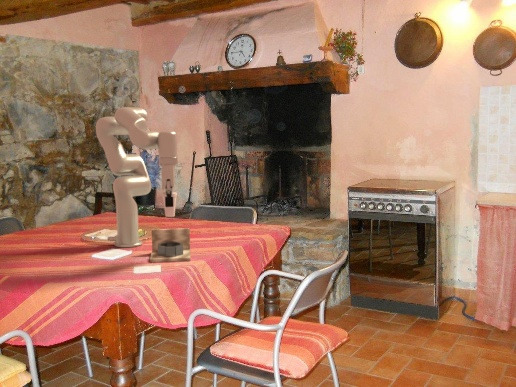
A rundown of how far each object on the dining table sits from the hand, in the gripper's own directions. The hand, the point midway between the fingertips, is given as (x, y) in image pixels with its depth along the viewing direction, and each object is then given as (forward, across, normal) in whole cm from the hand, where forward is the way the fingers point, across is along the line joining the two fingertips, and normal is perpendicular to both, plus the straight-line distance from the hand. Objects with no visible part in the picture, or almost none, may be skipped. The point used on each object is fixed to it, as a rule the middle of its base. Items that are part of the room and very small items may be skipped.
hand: (169, 205), depth 214 cm
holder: (+22, 0, 0) cm, 22 cm away
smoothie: (+5, 0, 0) cm, 5 cm away
